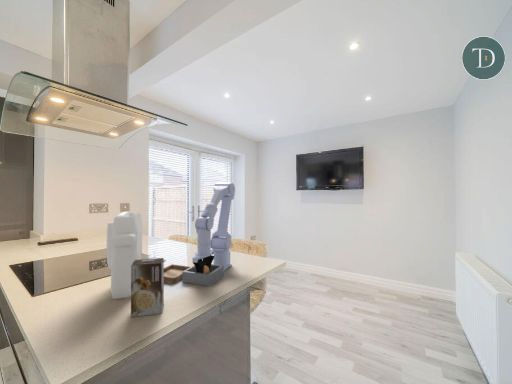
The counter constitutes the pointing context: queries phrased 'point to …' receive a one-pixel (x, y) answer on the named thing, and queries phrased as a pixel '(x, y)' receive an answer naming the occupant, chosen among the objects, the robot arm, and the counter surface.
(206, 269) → the ball
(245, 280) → the counter surface
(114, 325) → the counter surface
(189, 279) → the bin
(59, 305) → the counter surface
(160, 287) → the coffee box
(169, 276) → the tray
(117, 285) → the white tall piece
